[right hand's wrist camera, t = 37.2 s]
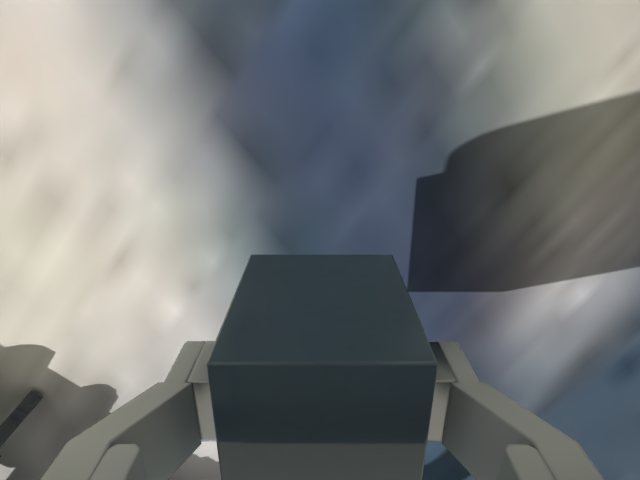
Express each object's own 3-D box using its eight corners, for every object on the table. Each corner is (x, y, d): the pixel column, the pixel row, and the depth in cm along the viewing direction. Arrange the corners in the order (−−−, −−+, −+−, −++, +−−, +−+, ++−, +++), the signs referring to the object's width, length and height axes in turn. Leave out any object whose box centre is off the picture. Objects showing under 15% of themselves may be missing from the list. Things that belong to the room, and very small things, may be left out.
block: (382, 389, 13) (414, 544, 9) (259, 389, 13) (229, 544, 9) (392, 254, 11) (439, 363, 7) (249, 254, 11) (205, 362, 7)
